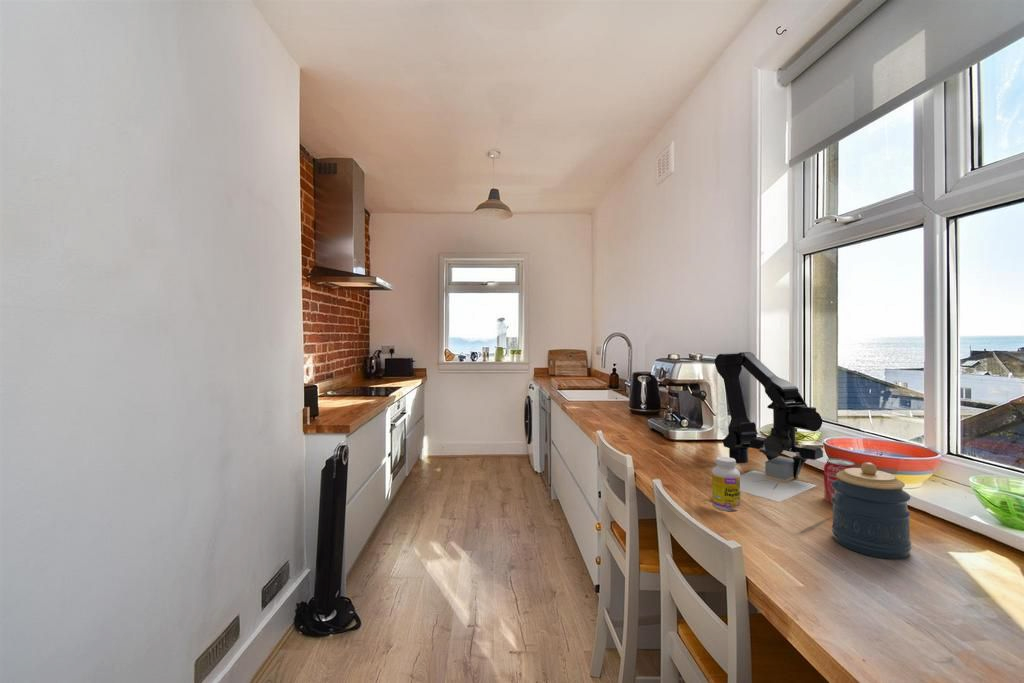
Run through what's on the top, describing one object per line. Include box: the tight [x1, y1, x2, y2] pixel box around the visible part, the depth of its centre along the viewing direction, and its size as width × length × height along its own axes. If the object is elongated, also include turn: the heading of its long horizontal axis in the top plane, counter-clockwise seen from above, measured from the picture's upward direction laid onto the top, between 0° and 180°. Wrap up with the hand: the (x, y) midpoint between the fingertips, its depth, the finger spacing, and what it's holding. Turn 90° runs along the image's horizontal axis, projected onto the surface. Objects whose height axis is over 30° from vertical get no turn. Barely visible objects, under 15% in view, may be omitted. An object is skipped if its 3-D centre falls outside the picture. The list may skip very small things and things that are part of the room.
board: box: [740, 470, 818, 503], centre depth 126 cm, size 22×18×2 cm
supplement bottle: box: [711, 456, 741, 513], centre depth 114 cm, size 7×7×13 cm
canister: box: [831, 461, 912, 560], centre depth 92 cm, size 13×13×18 cm
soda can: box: [823, 458, 856, 505], centre depth 112 cm, size 7×7×12 cm
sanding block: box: [764, 455, 801, 483], centre depth 132 cm, size 9×6×5 cm, turn 123°
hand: (785, 475), depth 133 cm, fingers closed on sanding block, 5 cm apart
